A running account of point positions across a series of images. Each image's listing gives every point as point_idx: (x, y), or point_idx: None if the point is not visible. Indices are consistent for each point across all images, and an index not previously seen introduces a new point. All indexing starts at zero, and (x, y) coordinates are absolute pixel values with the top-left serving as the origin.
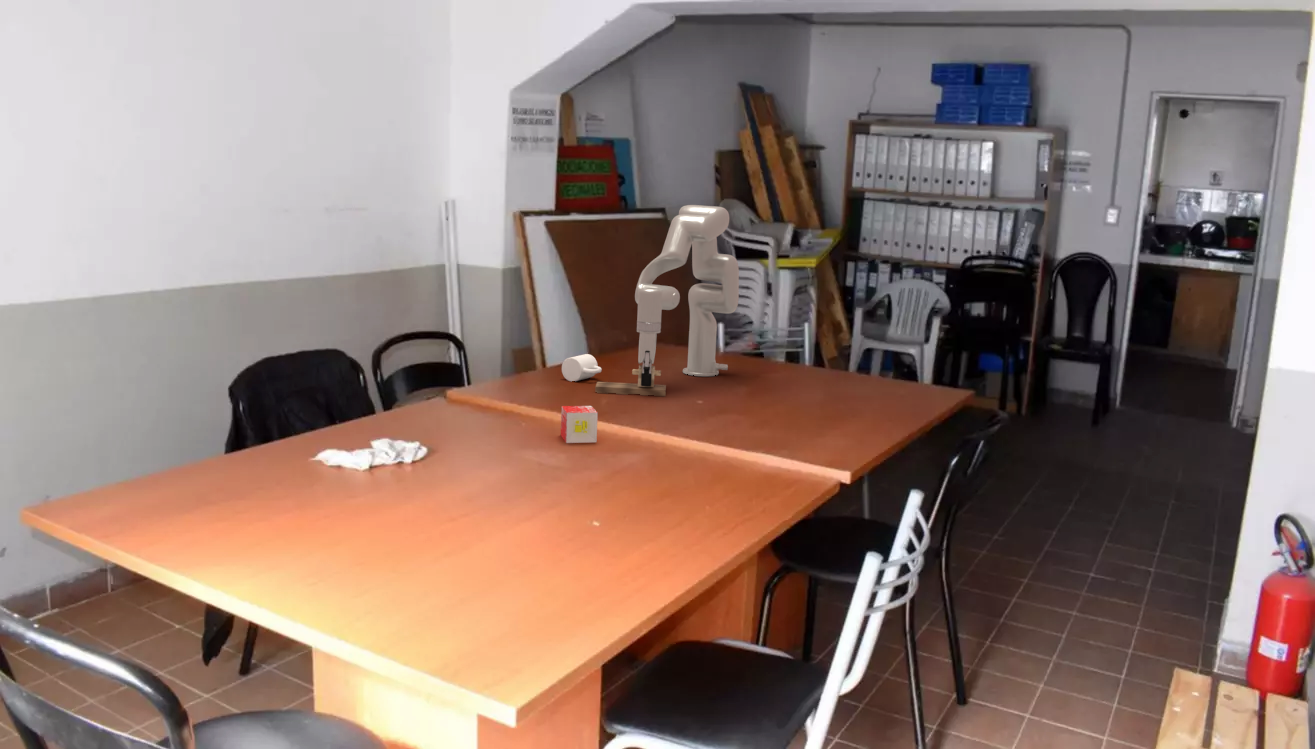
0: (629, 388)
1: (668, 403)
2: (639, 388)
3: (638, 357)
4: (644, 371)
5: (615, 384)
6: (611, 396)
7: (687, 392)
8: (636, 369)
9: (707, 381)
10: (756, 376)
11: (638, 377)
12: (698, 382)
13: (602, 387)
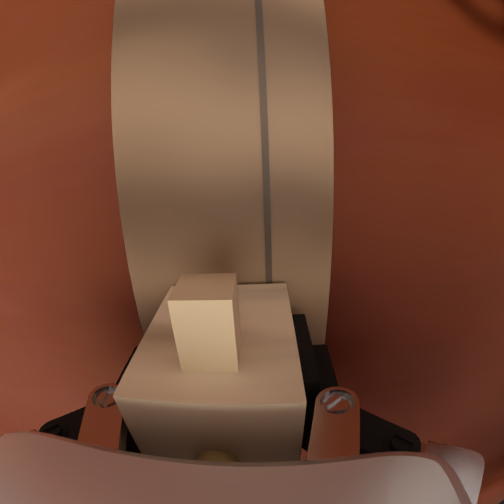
0: (121, 222)
1: (53, 389)
2: (145, 295)
3: (13, 491)
4: (76, 413)
5: (242, 86)
6: (58, 111)
7: (301, 457)
8: (236, 347)
9: (477, 449)
10: (490, 483)
11: (148, 328)
12: (472, 439)
13: (114, 19)
